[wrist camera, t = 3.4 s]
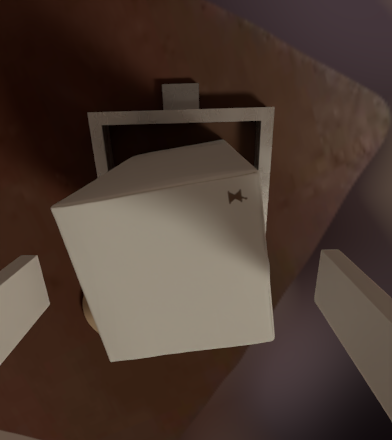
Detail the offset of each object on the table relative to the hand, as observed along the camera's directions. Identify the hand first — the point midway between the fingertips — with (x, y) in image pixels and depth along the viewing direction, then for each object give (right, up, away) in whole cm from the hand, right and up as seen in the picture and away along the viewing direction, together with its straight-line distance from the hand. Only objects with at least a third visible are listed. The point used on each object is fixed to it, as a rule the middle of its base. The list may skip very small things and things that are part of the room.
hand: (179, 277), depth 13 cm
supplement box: (0, +5, +14) cm, 15 cm away
